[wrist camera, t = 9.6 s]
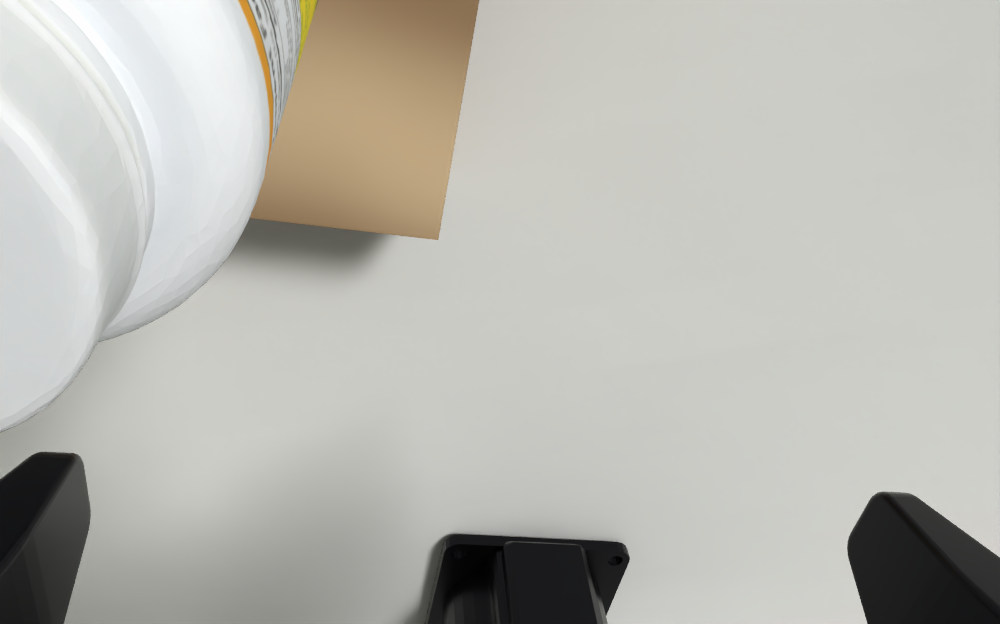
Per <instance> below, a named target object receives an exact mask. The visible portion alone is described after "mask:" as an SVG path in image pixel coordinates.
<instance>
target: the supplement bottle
mask: <svg viewBox="0 0 1000 624" xmlns="http://www.w3.org/2000/svg"><path fill="white" fill-rule="evenodd" d="M317 3H318V0H0V432H3V431H5V430H7V429H10V428H12V427H14V426H17V425H19V424H20V423H22V422H24V421H26V420H28V419H30V418H31V417H32V416H34V415H35V414H37V413H38V412H40V411H41V410H43V409H44V408H46V407H47V406H48V405H50V404H51V403H52V402H53V401H54V400H55V399H56V398H57V397H58V396H59V395H60V394H61V393H62V392H63V391H64V390H65V389H66V388H67V387H68V386H69V385H70V384H71V383H72V382H73V380H74V379H75V378H76V376H77V375H78V373H79V372H80V370H81V369H82V367H83V366H84V365H85V363H86V362H87V360H88V359H89V357H90V355H91V353H92V351H93V350H94V348H95V346H96V344H97V342H100V341H104V340H107V339H111V338H114V337H117V336H120V335H123V334H125V333H128V332H131V331H133V330H136V329H138V328H140V327H142V326H144V325H146V324H148V323H150V322H153V321H154V320H156V319H158V318H159V317H161V316H163V315H165V314H166V313H168V312H170V311H171V310H173V309H174V308H176V307H178V306H179V305H180V304H182V303H183V302H184V301H185V300H186V299H188V298H189V297H190V296H191V295H192V294H193V293H195V292H196V291H197V290H198V289H199V288H200V287H201V286H203V285H204V284H205V283H206V282H207V281H208V280H209V279H210V278H211V276H212V275H213V274H214V273H215V272H216V271H217V270H218V268H219V267H220V266H221V265H222V264H223V263H224V261H225V260H226V259H227V258H228V256H229V255H230V253H231V252H232V250H233V249H234V247H235V245H236V243H237V242H238V240H239V238H240V236H241V235H242V233H243V231H244V229H245V227H246V224H247V222H248V220H249V218H250V215H251V212H252V210H253V208H254V206H255V204H256V201H257V198H258V195H259V192H260V189H261V186H262V183H263V180H264V177H265V174H266V170H267V166H268V162H269V159H270V155H271V152H272V148H273V145H274V141H275V138H276V135H277V132H278V128H279V125H280V122H281V119H282V116H283V112H284V109H285V106H286V103H287V99H288V96H289V93H290V90H291V87H292V83H293V80H294V77H295V74H296V70H297V67H298V64H299V61H300V58H301V54H302V50H303V47H304V44H305V41H306V37H307V34H308V31H309V27H310V24H311V21H312V18H313V15H314V12H315V10H316V6H317Z"/></svg>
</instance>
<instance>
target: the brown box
mask: <svg viewBox="0 0 1000 624" xmlns="http://www.w3.org/2000/svg"><path fill="white" fill-rule="evenodd" d="M478 4H479V0H318V3H317V6H316V10H315V12H314V15H313V18H312V21H311V24H310V27H309V31H308V34H307V37H306V41H305V44H304V47H303V50H302V54H301V58H300V61H299V64H298V67H297V70H296V74H295V77H294V80H293V83H292V87H291V90H290V93H289V96H288V99H287V103H286V106H285V109H284V112H283V116H282V119H281V122H280V125H279V128H278V132H277V135H276V138H275V141H274V145H273V148H272V152H271V155H270V159H269V162H268V166H267V170H266V174H265V177H264V180H263V183H262V186H261V189H260V192H259V195H258V198H257V201H256V204H255V206H254V208H253V210H252V212H251V215H250V218H254V219H262V220H271V221H279V222H288V223H297V224H305V225H314V226H322V227H331V228H340V229H348V230H357V231H365V232H374V233H383V234H391V235H400V236H408V237H417V238H426V239H434V240H438V238H439V232H440V226H441V220H442V214H443V208H444V203H445V197H446V191H447V185H448V179H449V173H450V167H451V162H452V156H453V150H454V144H455V138H456V132H457V127H458V121H459V115H460V109H461V103H462V97H463V91H464V86H465V80H466V74H467V68H468V62H469V56H470V51H471V45H472V39H473V33H474V27H475V21H476V15H477V10H478Z"/></svg>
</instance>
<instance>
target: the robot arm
mask: <svg viewBox="0 0 1000 624" xmlns="http://www.w3.org/2000/svg"><path fill="white" fill-rule="evenodd" d="M90 516H91V510H90V502H89V496H88V489H87V483H86V477H85V470H84V465H83V461H82V459H81V457H80V456H78V455H77V454H74V453H57V452H39V453H36V454H34V455H32V456H30V457H29V458H27V459H26V460H25V461H23V462H22V463H21V464H20V465H18V466H17V467H16V468H14V469H13V470H12V471H10V472H9V473H8V474H7V475H5V476H4V477H3V478H1V479H0V624H64V620H65V616H66V613H67V609H68V605H69V602H70V598H71V594H72V590H73V587H74V583H75V579H76V576H77V572H78V568H79V564H80V561H81V557H82V553H83V550H84V546H85V542H86V538H87V535H88V531H89V525H90ZM847 550H848V557H849V561H850V565H851V568H852V572H853V575H854V579H855V582H856V585H857V589H858V592H859V596H860V599H861V603H862V606H863V610H864V613H865V617H866V620H867V623H868V624H1000V557H998V556H997V555H995V554H994V553H993V552H991V551H990V550H989V549H987V548H986V547H984V546H983V545H982V544H980V543H979V542H978V541H976V540H975V539H973V538H972V537H971V536H969V535H968V534H967V533H965V532H964V531H963V530H961V529H960V528H958V527H957V526H956V525H954V524H953V523H952V522H950V521H949V520H947V519H946V518H945V517H943V516H942V515H941V514H939V513H938V512H936V511H935V510H934V509H932V508H931V507H930V506H928V505H927V504H925V503H924V502H923V501H921V500H920V499H919V498H917V497H916V496H914V495H912V494H909V493H900V492H878V493H877V494H875V495H874V496H872V498H871V499H870V500H869V502H868V504H867V506H866V507H865V509H864V511H863V513H862V514H861V516H860V518H859V520H858V521H857V523H856V525H855V527H854V528H853V530H852V532H851V534H850V536H849V539H848V547H847ZM629 559H630V558H629V554H628V550H627V548H626V546H625V545H624V544H622V543H619V542H604V541H583V540H563V539H542V538H522V537H502V536H481V535H461V534H460V535H453V536H450V537H449V538H447V539H446V540H445V542H444V544H443V548H442V552H441V557H440V561H439V565H438V570H437V574H436V578H435V583H434V587H433V591H432V596H431V600H430V604H429V609H428V613H427V618H426V622H425V624H607V619H606V615H607V612H608V610H609V607H610V605H611V603H612V600H613V598H614V596H615V593H616V591H617V589H618V586H619V584H620V582H621V579H622V577H623V575H624V572H625V570H626V568H627V565H628V563H629Z"/></svg>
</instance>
